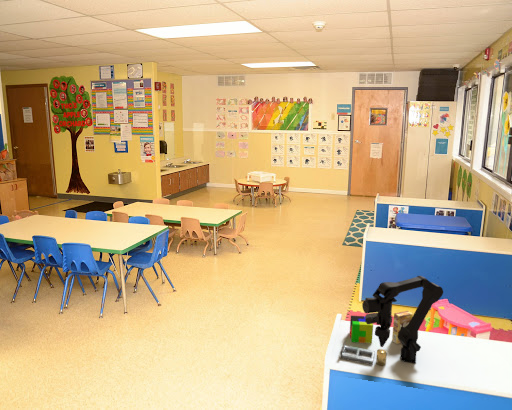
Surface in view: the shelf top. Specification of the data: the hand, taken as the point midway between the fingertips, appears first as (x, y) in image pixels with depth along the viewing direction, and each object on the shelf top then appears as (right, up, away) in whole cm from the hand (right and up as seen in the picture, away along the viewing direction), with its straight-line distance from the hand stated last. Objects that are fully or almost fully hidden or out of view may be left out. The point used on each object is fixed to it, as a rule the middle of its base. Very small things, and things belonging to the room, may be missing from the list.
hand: (382, 342), depth 198 cm
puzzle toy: (-4, -6, +25) cm, 26 cm away
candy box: (+16, -7, +23) cm, 29 cm away
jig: (-10, -9, +7) cm, 15 cm away
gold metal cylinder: (0, -11, +2) cm, 11 cm away
